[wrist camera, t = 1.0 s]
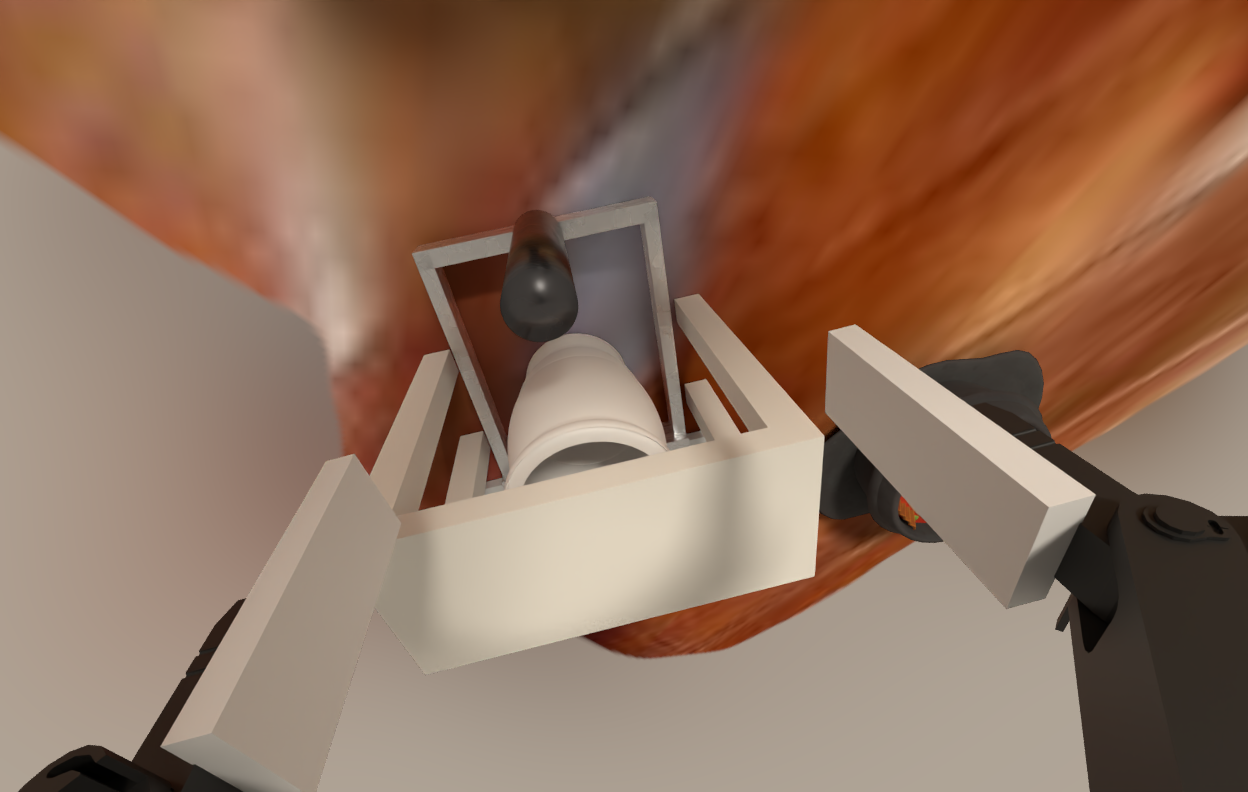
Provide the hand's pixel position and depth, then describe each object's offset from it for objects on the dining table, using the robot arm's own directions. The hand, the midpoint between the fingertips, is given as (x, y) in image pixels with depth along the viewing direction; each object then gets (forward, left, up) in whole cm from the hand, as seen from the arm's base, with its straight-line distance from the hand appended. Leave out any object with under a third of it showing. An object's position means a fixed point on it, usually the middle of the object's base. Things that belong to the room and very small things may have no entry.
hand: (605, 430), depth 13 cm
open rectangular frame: (+18, -2, -24) cm, 30 cm away
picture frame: (+8, -2, -23) cm, 25 cm away
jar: (+12, -2, -25) cm, 27 cm away
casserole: (+27, +30, -25) cm, 47 cm away
